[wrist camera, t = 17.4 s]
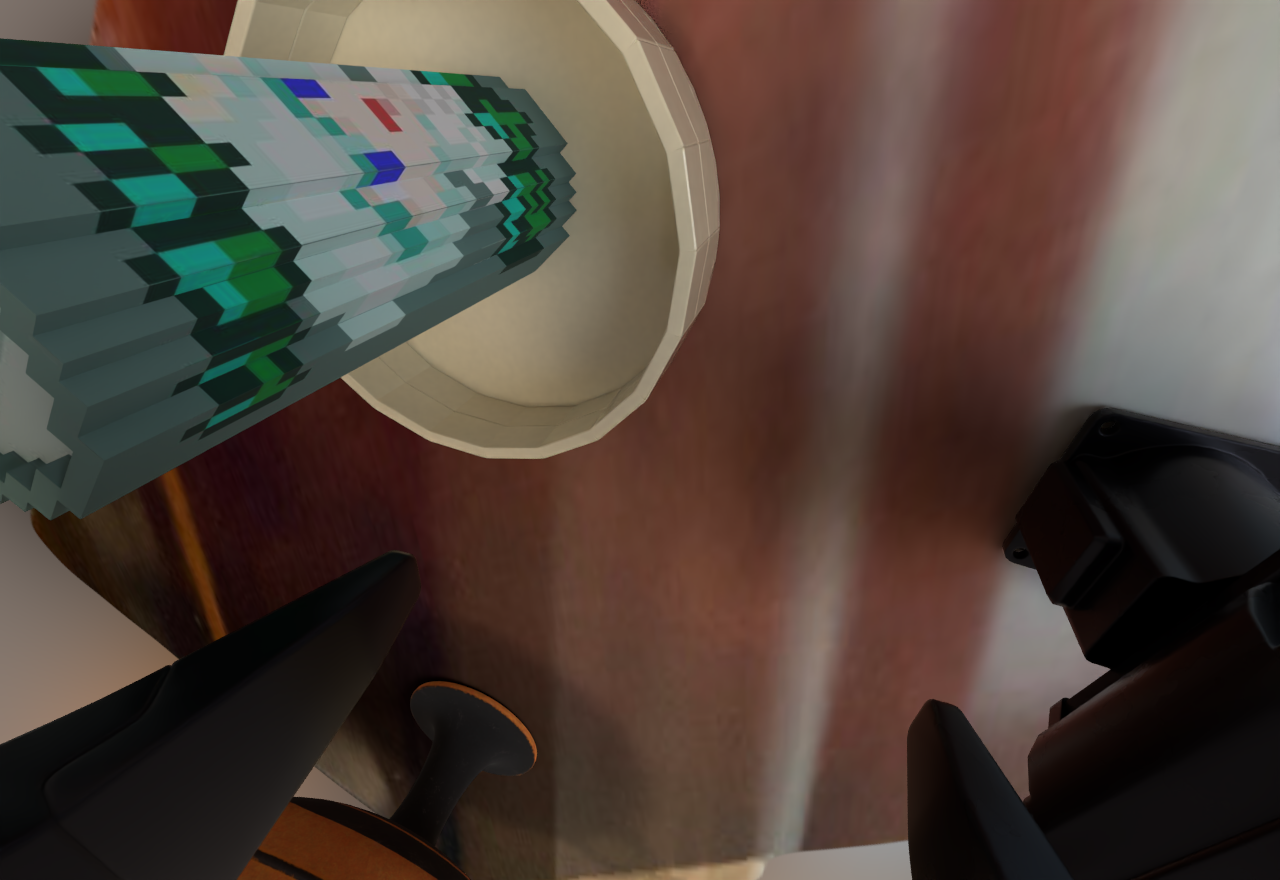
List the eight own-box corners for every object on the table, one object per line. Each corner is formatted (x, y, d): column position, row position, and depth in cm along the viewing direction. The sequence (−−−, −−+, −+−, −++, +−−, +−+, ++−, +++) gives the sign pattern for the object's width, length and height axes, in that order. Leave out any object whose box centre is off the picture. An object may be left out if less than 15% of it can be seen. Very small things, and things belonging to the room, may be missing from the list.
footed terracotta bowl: (759, 852, 38) (708, 1307, 24) (541, 869, 52) (426, 1162, 38) (362, 483, 31) (-58, 817, 16) (233, 618, 45) (-55, 862, 30)
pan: (776, -43, 14) (756, -86, 11) (677, 452, 23) (650, 509, 20) (275, -95, 17) (145, -140, 14) (357, 361, 26) (287, 398, 23)
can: (608, 195, 18) (137, 381, 6) (503, 303, 22) (62, 563, 9) (480, 31, 17) (-451, -153, 5) (389, 173, 20) (-297, 278, 8)
